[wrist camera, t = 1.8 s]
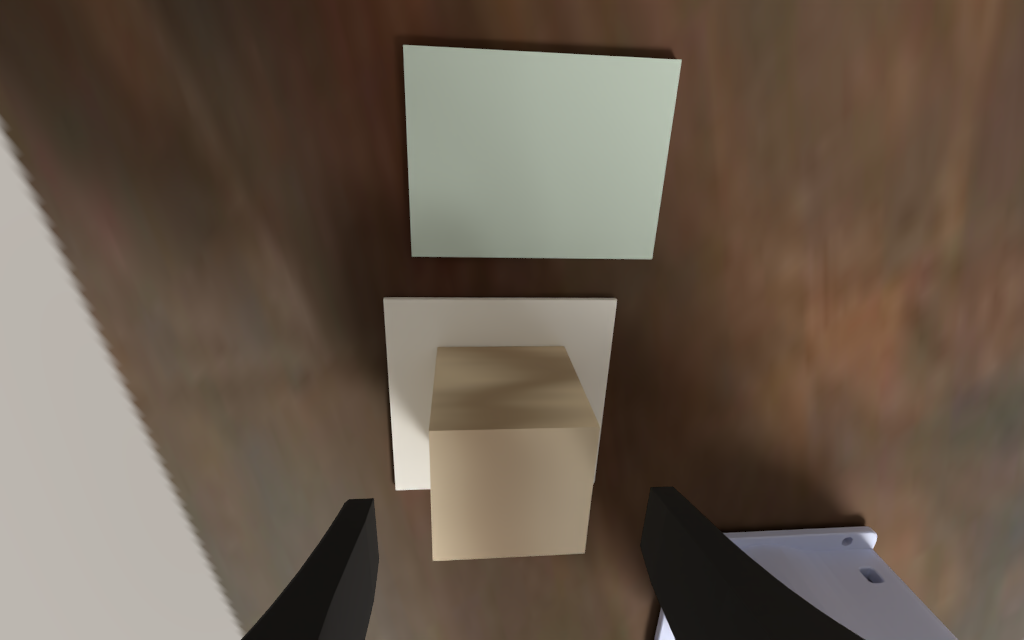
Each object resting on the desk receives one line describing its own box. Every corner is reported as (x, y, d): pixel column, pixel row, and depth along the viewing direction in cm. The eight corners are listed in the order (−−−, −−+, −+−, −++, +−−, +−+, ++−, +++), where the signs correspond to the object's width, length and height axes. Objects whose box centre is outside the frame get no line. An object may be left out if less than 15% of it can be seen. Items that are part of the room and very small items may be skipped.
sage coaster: (677, 60, 15) (681, 59, 14) (649, 256, 17) (652, 259, 17) (404, 46, 14) (403, 44, 14) (412, 254, 16) (411, 256, 16)
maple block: (564, 345, 18) (600, 426, 13) (555, 449, 19) (584, 553, 15) (437, 347, 17) (428, 431, 13) (439, 452, 19) (432, 561, 14)
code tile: (615, 298, 18) (617, 300, 17) (593, 479, 21) (594, 483, 20) (383, 297, 17) (383, 299, 16) (396, 486, 20) (395, 491, 20)
